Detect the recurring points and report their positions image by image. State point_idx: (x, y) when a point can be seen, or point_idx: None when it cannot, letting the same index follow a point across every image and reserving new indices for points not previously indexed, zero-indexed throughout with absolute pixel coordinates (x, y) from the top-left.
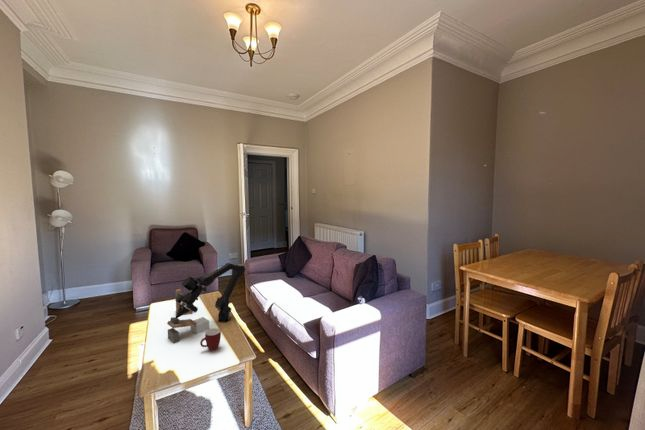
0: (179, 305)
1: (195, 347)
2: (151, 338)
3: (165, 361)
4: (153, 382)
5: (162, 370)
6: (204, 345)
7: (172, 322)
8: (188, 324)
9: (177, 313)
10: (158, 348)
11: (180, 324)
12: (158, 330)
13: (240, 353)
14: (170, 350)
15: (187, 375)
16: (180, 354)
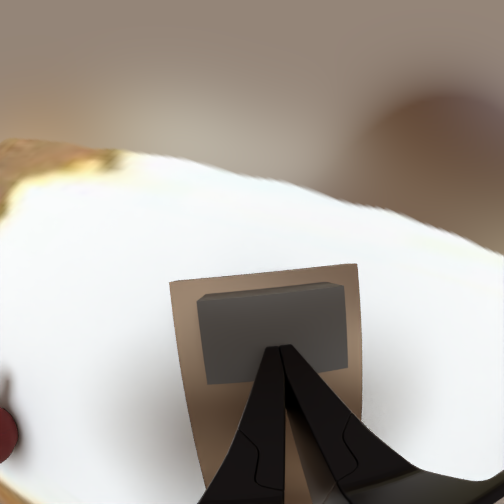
0: (425, 500)
1: (62, 383)
2: (383, 214)
3: (60, 213)
4: (4, 159)
5: (23, 191)
6: None
7: (249, 291)
8: (200, 454)
9: (297, 387)
10: (215, 213)
11: (191, 375)
12: (459, 274)
13: None
14: (132, 262)
15: None
16: (56, 290)
